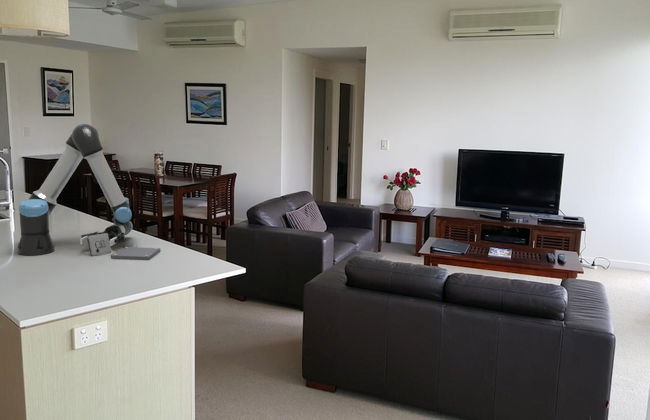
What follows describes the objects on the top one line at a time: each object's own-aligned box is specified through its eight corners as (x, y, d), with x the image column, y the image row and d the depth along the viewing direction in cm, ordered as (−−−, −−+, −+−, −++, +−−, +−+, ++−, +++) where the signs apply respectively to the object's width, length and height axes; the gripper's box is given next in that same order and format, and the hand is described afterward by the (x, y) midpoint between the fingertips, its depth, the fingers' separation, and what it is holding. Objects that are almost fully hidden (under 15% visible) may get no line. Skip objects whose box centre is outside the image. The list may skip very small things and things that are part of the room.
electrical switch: (92, 256, 251) (90, 236, 250) (86, 255, 254) (84, 235, 253) (111, 253, 258) (110, 233, 257) (105, 252, 261) (104, 232, 260)
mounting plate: (111, 258, 248) (110, 254, 247) (124, 250, 263) (124, 246, 263) (148, 260, 247) (148, 256, 247) (160, 251, 263) (160, 247, 263)
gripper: (139, 240, 273) (123, 251, 252) (89, 239, 274) (68, 249, 253) (139, 225, 272) (122, 235, 251) (88, 224, 272) (68, 233, 252)
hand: (95, 242), depth 252 cm, fingers open, 13 cm apart
